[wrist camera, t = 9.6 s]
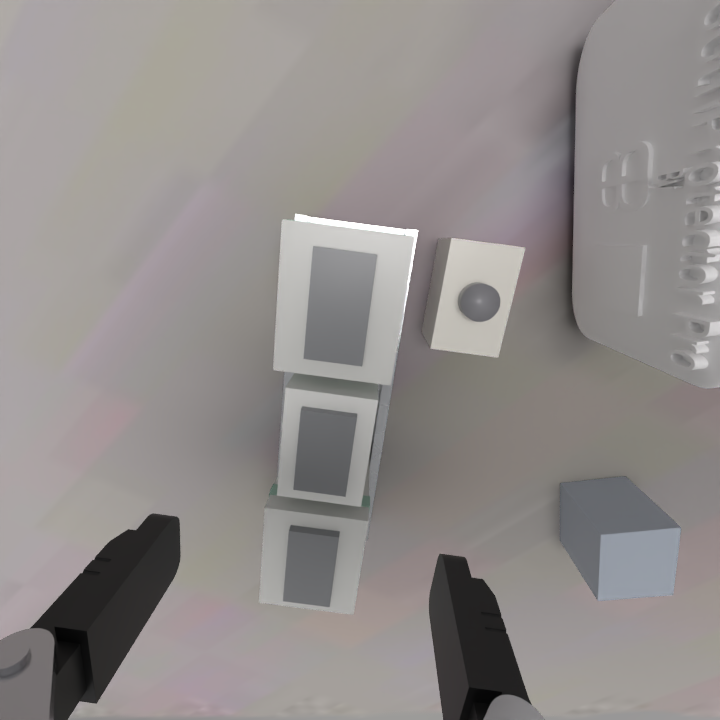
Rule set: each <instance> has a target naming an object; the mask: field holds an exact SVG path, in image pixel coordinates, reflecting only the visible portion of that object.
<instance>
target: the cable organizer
mask: <svg viewBox="0 0 720 720" xmlns="http://www.w3.org/2000/svg"><path fill="white" fill-rule="evenodd" d="M572 303H573V310H574V315H575V319H576V322H577V325H578V327H579V329H580V331H581V332H582V334H583V335H584V336H585V337H587V338H588V339H591V340H593V341H595V342H597V343H600V344H602V345H604V346H606V347H609V348H611V349H613V350H615V351H618V352H620V353H622V354H624V355H627V356H629V357H631V358H633V359H636V360H638V361H640V362H642V363H645V364H647V365H649V366H651V367H654V368H656V369H658V370H660V371H663V372H665V373H667V374H669V375H672V376H674V377H676V378H678V379H681V380H683V381H685V382H687V383H690V384H692V385H694V386H697V387H700V388H707V389H710V388H719V387H720V0H615V1H614V2H613V3H612V4H611V5H610V6H609V7H608V8H607V9H606V10H605V11H604V12H603V13H602V14H601V15H600V16H599V18H598V19H597V20H596V21H595V23H594V24H593V26H592V28H591V30H590V32H589V34H588V36H587V39H586V42H585V44H584V48H583V51H582V55H581V59H580V64H579V69H578V76H577V85H576V122H575V172H574V222H573V271H572Z"/></svg>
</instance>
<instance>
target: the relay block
mask: <svg viewBox="0 0 720 720" xmlns="http://www.w3.org/2000/svg"><path fill="white" fill-rule="evenodd" d="M680 534H681V527H680V526H679V525H678V524H677V523H676V522H675V521H674V520H673V519H671V518H670V517H669V516H668V515H667V514H666V513H665V512H664V511H663V510H662V509H661V508H660V507H658V506H657V505H656V504H655V503H654V502H653V501H652V500H651V499H650V498H649V497H648V496H647V495H645V494H644V493H643V492H642V491H641V490H640V489H639V488H638V487H637V486H636V485H635V484H634V483H632V482H631V481H630V480H629V479H628V478H627V477H626V476H623V477H613V478H604V479H594V480H584V481H575V482H565V483H560V541H561V543H562V545H563V546H564V548H565V549H566V551H567V553H568V554H569V556H570V557H571V559H572V561H573V562H574V564H575V565H576V567H577V569H578V570H579V572H580V573H581V575H582V577H583V578H584V580H585V581H586V583H587V584H588V586H589V588H590V589H591V591H592V592H593V594H594V596H595V597H596V599H597V600H598V601H605V600H617V599H630V598H642V597H655V596H667V595H673V592H674V584H675V576H676V567H677V559H678V551H679V542H680Z"/></svg>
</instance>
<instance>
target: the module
mask: <svg viewBox="0 0 720 720" xmlns="http://www.w3.org/2000/svg"><path fill="white" fill-rule="evenodd" d="M377 405H378V384H375V383H368V382H360V381H353V380H345V379H337V378H330V377H322V376H314V375H307V374H299V373H294V374H293V376H292V378H291V379H290V381H289V383H288V384H287V386H286V387H285V399H284V412H283V424H282V437H281V450H280V462H279V475H278V488H277V496H284V497H291V498H299V499H306V500H313V501H321V502H328V503H336V504H343V505H350V506H358V507H361V505H362V498H363V492H364V486H365V480H366V473H367V467H368V461H369V455H370V449H371V442H372V436H373V430H374V424H375V417H376V411H377Z"/></svg>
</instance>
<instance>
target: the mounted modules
mask: <svg viewBox="0 0 720 720" xmlns="http://www.w3.org/2000/svg"><path fill="white" fill-rule="evenodd" d="M414 238H415V237H414V236H409V235H401V234H394V233H386V232H379V231H371V230H364V229H356V228H348V227H341V226H333V225H326V224H318V223H311V222H303V221H296V220H288V219H287V220H284V219H282V227H281V244H280V261H279V277H278V294H277V311H276V327H275V344H274V361H273V370H276V371H284V372H291V373H299V374H307V375H314V376H322V377H330V378H337V379H345V380H353V381H360V382H368V383H375V384H383V385H391V380H392V374H393V368H394V362H395V356H396V350H397V343H398V337H399V331H400V325H401V319H402V312H403V306H404V300H405V294H406V288H407V282H408V275H409V269H410V263H411V257H412V251H413V245H414ZM278 475H279V474H278ZM369 476H370V455H369V461H368V467H367V473H366V480H365V486H364V492H363V498H362V505H361V507H358V506H350V505H343V504H336V503H328V502H321V501H313V500H306V499H299V498H291V497H284V496H277V488H278V477H277V479H276V482H275V484H273V486H272V488H271V490H270V493H269V499H268V501H267V503H266V506H265V511H264V527H263V544H262V561H261V577H260V594H259V603H265V604H273V605H281V606H289V607H297V608H304V609H312V610H320V611H328V612H336V613H343V614H351V615H354V609H355V603H356V597H357V590H358V584H359V578H360V572H361V566H362V560H363V553H364V547H365V541H366V535H367V529H368V522H369V510H370V496H369Z"/></svg>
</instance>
